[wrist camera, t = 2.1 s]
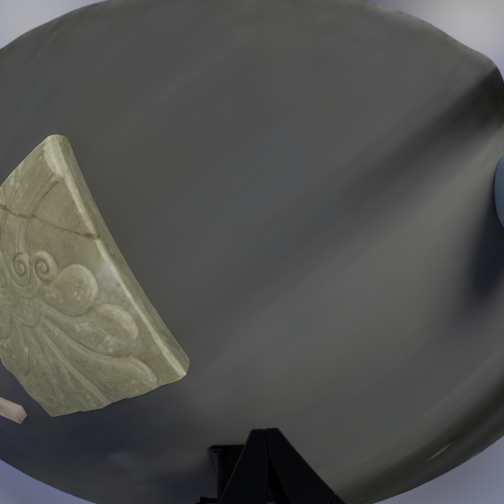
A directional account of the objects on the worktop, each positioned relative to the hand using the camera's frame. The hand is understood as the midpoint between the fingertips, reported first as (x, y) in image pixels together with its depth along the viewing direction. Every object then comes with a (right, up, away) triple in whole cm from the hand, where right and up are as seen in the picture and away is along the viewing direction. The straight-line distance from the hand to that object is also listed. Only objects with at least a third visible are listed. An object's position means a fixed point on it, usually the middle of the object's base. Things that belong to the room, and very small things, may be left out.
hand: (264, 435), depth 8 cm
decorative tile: (-18, +2, +12) cm, 21 cm away
